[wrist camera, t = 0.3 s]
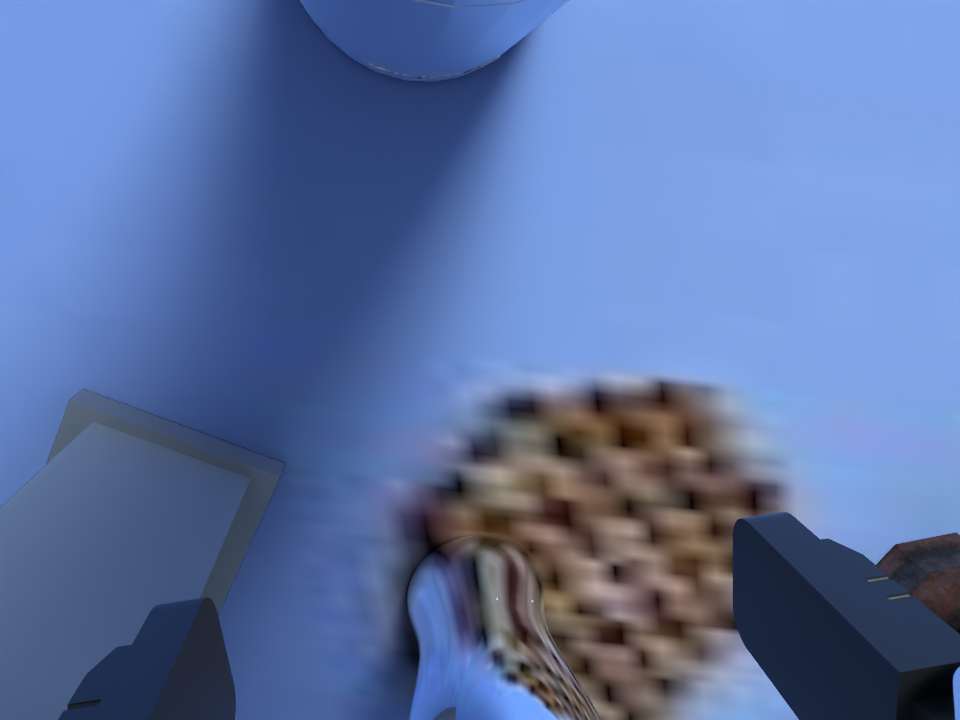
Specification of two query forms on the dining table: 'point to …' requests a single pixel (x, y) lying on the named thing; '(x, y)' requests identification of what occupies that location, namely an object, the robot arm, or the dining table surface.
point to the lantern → (929, 573)
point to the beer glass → (487, 638)
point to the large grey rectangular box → (115, 542)
